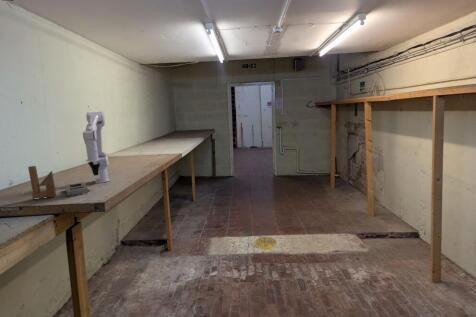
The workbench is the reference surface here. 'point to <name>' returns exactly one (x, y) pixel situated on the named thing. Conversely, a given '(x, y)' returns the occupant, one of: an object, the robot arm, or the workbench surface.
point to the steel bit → (93, 174)
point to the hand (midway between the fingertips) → (95, 174)
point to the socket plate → (76, 189)
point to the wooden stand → (46, 182)
